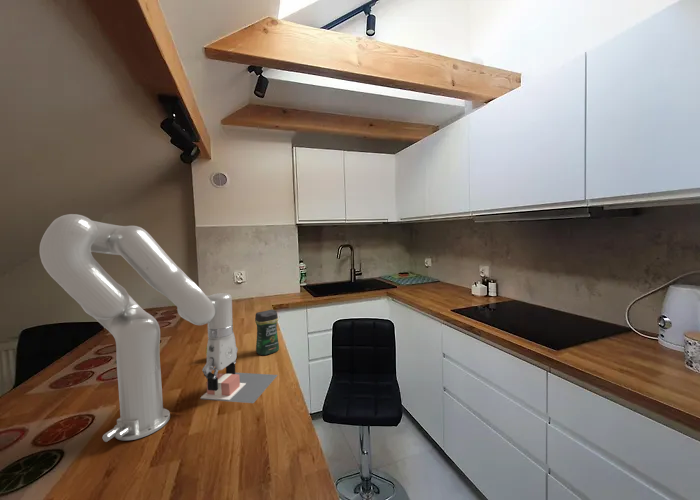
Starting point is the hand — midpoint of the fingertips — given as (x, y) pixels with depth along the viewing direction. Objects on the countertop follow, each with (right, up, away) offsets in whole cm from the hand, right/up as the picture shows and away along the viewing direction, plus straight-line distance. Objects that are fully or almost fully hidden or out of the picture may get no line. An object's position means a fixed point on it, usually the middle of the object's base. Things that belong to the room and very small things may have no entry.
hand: (222, 382), depth 96 cm
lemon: (-16, -3, +27) cm, 32 cm away
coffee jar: (+6, -2, +34) cm, 34 cm away
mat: (+5, -3, +3) cm, 7 cm away
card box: (0, -3, 0) cm, 3 cm away
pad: (0, -4, +1) cm, 4 cm away
